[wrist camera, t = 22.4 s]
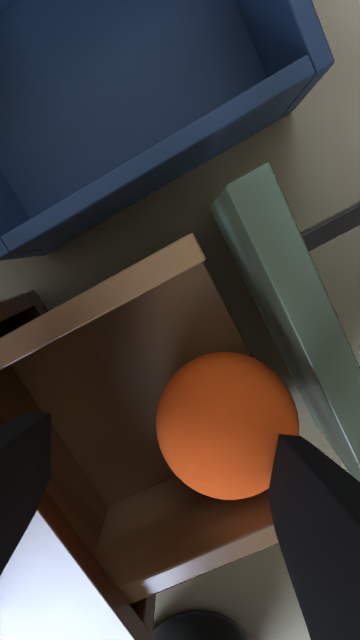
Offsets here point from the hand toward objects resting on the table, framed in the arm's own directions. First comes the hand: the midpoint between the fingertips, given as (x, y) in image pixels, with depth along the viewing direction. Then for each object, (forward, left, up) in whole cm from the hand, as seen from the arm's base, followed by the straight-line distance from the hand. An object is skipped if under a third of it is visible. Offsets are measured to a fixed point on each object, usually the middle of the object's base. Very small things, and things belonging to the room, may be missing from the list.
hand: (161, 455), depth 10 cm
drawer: (+1, +2, -6) cm, 7 cm away
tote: (-7, +10, -7) cm, 14 cm away
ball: (+2, 0, -3) cm, 3 cm away
